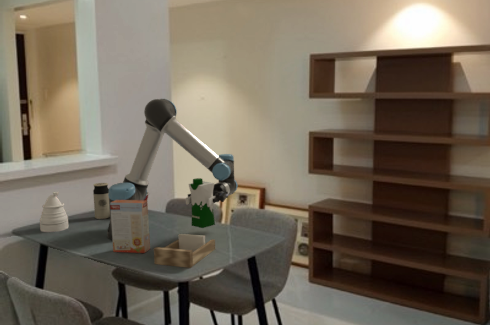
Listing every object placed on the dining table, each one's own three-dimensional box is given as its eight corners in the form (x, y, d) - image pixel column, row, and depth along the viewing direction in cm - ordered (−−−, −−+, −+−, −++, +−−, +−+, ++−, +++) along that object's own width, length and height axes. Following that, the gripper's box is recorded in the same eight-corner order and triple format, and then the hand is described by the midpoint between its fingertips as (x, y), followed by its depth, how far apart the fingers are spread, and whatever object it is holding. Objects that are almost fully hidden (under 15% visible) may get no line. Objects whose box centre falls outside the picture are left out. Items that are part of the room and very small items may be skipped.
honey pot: (73, 225, 248) (70, 189, 245) (61, 232, 235) (58, 194, 233) (48, 225, 249) (45, 189, 247) (35, 232, 236) (32, 195, 234)
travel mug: (96, 216, 265) (94, 183, 263) (111, 215, 266) (109, 182, 264) (93, 219, 258) (91, 185, 255) (109, 218, 258) (107, 184, 256)
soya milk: (188, 225, 208) (186, 178, 206) (204, 221, 215) (202, 175, 212) (202, 229, 202) (200, 181, 200) (218, 224, 209) (216, 177, 206)
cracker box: (150, 249, 205) (148, 199, 202) (144, 253, 199) (141, 202, 196) (119, 247, 208) (116, 198, 205) (112, 252, 202) (109, 202, 199)
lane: (154, 264, 186) (153, 248, 185) (182, 246, 208) (181, 232, 207) (190, 267, 181) (189, 251, 180) (215, 249, 202) (214, 234, 202)
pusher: (179, 250, 201) (178, 234, 200) (180, 249, 202) (180, 233, 201) (204, 253, 197) (203, 236, 196) (205, 251, 198) (204, 235, 197)
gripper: (241, 200, 221) (222, 212, 200) (197, 198, 228) (174, 209, 207) (241, 183, 220) (221, 193, 199) (196, 182, 227) (173, 191, 206)
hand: (197, 201), depth 203 cm, fingers closed on soya milk, 9 cm apart
